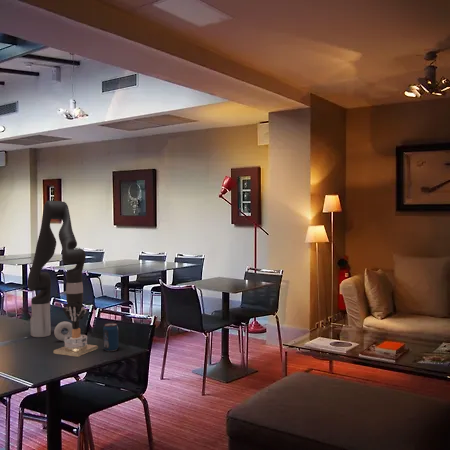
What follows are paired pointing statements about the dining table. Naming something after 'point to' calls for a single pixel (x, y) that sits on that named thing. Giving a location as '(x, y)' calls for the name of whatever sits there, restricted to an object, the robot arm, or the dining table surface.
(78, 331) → the orange block with base
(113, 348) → the soda can
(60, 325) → the donut
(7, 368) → the dining table surface
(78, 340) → the candle holder
